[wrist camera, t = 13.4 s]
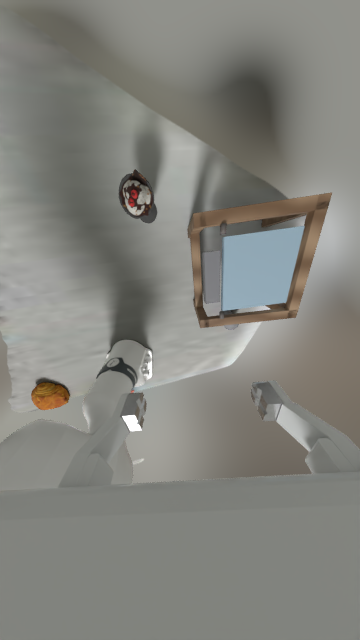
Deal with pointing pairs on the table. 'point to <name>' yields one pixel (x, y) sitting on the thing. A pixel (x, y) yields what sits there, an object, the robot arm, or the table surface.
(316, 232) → the stand
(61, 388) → the croissant
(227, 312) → the gray cylinder
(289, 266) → the trapdoor
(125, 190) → the sundae
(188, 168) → the table surface
